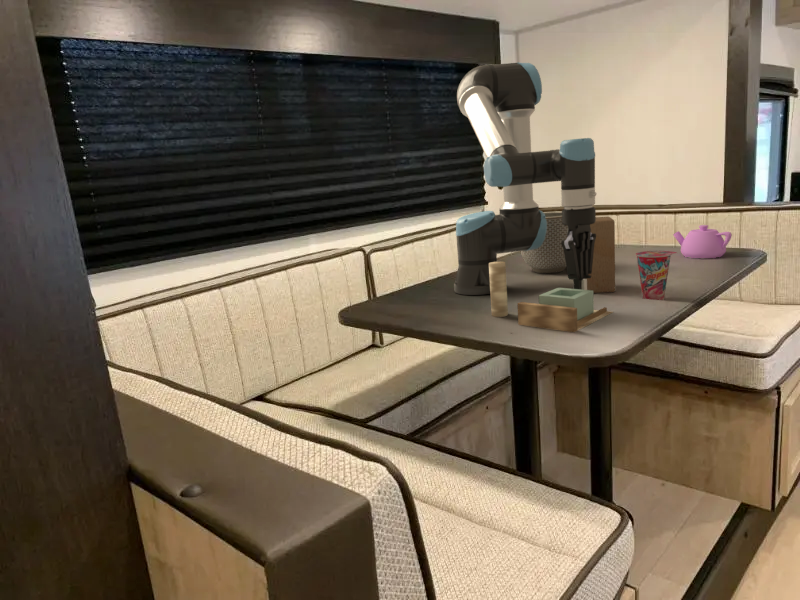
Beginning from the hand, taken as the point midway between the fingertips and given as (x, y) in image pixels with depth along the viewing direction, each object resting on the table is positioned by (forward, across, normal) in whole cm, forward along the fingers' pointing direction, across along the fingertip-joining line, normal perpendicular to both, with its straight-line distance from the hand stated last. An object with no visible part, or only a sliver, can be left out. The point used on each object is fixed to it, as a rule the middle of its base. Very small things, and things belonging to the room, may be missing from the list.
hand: (580, 305), depth 143 cm
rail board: (+3, -7, 0) cm, 7 cm away
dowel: (+3, -11, +16) cm, 19 cm away
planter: (+3, +48, +37) cm, 61 cm away
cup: (+3, +22, -9) cm, 24 cm away
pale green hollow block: (+2, -7, 0) cm, 7 cm away
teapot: (+3, +87, 0) cm, 87 cm away
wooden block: (+3, +27, +10) cm, 29 cm away
